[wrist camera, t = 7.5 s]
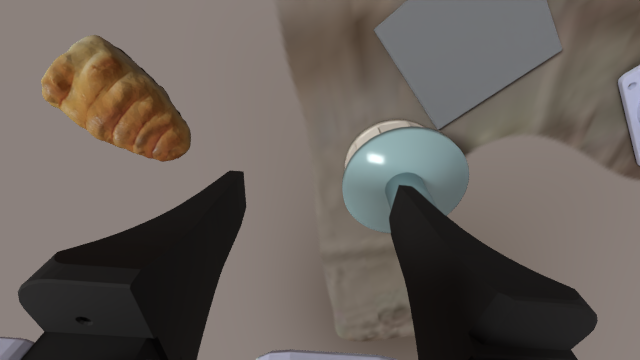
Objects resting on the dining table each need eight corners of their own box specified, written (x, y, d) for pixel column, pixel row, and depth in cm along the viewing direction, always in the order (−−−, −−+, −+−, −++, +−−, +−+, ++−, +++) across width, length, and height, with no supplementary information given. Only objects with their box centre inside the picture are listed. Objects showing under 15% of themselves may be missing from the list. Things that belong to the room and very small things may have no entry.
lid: (483, 190, 21) (524, 240, 16) (382, 241, 24) (394, 294, 20) (429, 98, 17) (465, 131, 13) (318, 174, 20) (316, 221, 16)
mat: (557, 48, 18) (562, 49, 18) (436, 127, 22) (437, 129, 21) (511, -91, 15) (516, -94, 14) (373, 29, 18) (374, 30, 18)
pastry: (214, 119, 22) (195, 139, 19) (173, 168, 25) (150, 193, 21) (97, 24, 18) (49, 28, 15) (64, 93, 21) (17, 109, 18)
